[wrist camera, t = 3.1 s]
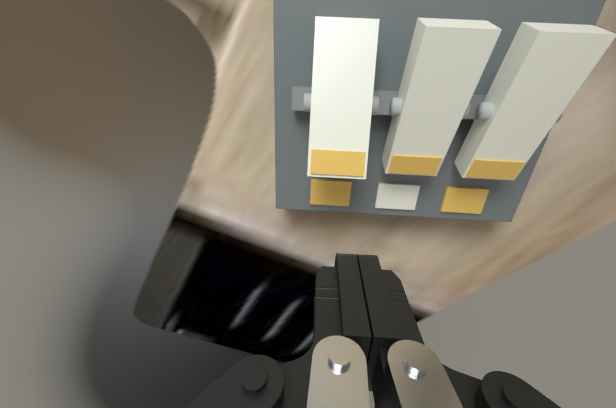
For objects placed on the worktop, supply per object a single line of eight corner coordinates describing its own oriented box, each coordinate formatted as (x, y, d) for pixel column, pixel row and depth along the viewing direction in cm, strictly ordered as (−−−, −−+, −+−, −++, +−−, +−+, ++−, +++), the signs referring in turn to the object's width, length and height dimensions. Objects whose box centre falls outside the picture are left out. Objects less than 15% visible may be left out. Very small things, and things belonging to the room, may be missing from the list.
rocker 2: (513, 21, 16) (532, 31, 15) (601, 25, 16) (629, 35, 15) (448, 162, 23) (456, 178, 22) (508, 165, 23) (521, 182, 22)
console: (281, -18, 22) (269, -41, 17) (566, -7, 22) (636, -27, 17) (281, 191, 30) (273, 215, 25) (488, 202, 30) (520, 229, 25)
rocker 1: (308, 30, 20) (307, 14, 17) (380, 33, 19) (388, 18, 17) (301, 174, 21) (299, 175, 19) (367, 177, 21) (373, 179, 19)
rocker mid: (408, 17, 16) (417, 26, 15) (495, 20, 16) (512, 30, 15) (375, 158, 23) (378, 174, 22) (435, 161, 23) (443, 177, 22)
